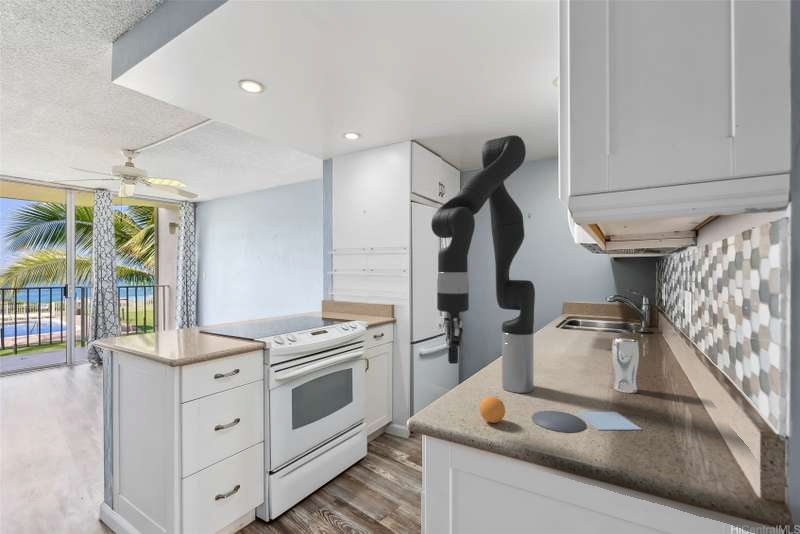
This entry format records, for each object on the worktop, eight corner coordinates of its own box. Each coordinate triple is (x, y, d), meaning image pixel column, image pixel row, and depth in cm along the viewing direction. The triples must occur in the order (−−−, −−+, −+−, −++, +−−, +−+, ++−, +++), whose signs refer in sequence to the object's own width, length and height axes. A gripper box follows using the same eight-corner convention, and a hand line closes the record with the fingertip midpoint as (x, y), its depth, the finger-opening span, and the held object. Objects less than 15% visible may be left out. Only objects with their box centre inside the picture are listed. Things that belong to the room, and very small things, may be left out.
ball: (477, 416, 92) (477, 392, 92) (501, 416, 92) (501, 392, 92) (482, 427, 86) (482, 401, 86) (508, 427, 86) (508, 401, 86)
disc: (524, 411, 95) (524, 410, 95) (571, 411, 95) (571, 410, 95) (543, 432, 83) (543, 431, 83) (596, 432, 83) (596, 431, 83)
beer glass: (638, 388, 113) (638, 339, 113) (639, 395, 107) (639, 343, 107) (612, 384, 116) (611, 337, 116) (611, 391, 110) (611, 341, 110)
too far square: (576, 412, 94) (576, 412, 94) (615, 412, 94) (615, 411, 94) (598, 430, 84) (598, 429, 84) (641, 429, 84) (641, 429, 84)
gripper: (474, 292, 82) (474, 370, 82) (463, 289, 95) (463, 356, 96) (440, 293, 82) (440, 370, 82) (434, 289, 95) (434, 356, 95)
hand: (452, 362), depth 89 cm, fingers closed
